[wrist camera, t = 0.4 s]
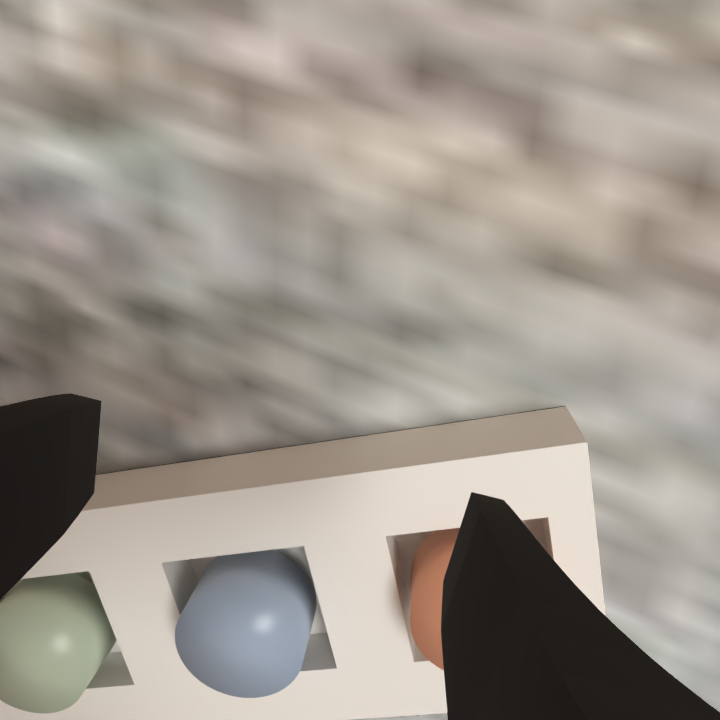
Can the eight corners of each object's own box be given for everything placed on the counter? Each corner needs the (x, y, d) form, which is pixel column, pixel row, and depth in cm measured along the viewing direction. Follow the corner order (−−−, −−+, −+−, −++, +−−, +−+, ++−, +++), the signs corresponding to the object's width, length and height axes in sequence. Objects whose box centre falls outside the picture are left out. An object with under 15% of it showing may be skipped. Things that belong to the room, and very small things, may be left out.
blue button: (328, 639, 22) (316, 693, 20) (218, 649, 23) (195, 702, 21) (301, 539, 21) (285, 584, 19) (186, 553, 22) (158, 598, 19)
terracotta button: (546, 619, 21) (561, 675, 19) (423, 630, 22) (422, 685, 19) (531, 512, 20) (544, 557, 17) (401, 527, 20) (397, 573, 18)
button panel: (593, 640, 23) (614, 701, 20) (47, 685, 27) (6, 742, 24) (565, 406, 20) (587, 442, 18) (-39, 494, 24) (-96, 535, 22)
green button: (133, 657, 23) (102, 709, 21) (36, 665, 24) (-5, 717, 22) (97, 563, 22) (60, 609, 20) (-5, 576, 23) (-52, 620, 21)
